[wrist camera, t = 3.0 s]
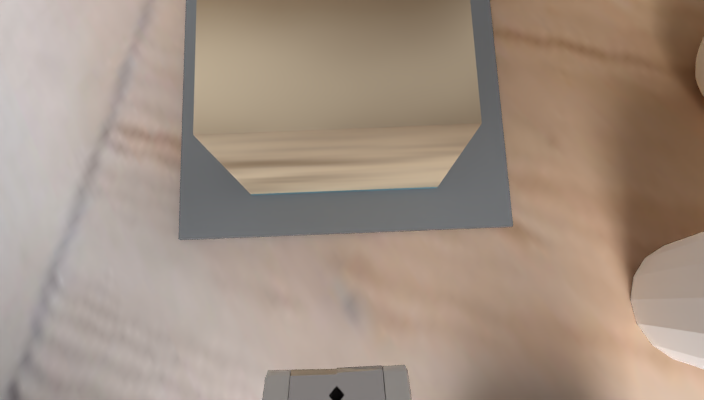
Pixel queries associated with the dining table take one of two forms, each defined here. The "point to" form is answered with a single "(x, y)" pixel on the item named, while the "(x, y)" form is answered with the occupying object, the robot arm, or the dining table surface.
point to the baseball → (700, 67)
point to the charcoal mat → (358, 206)
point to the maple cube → (335, 92)
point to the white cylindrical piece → (673, 299)
